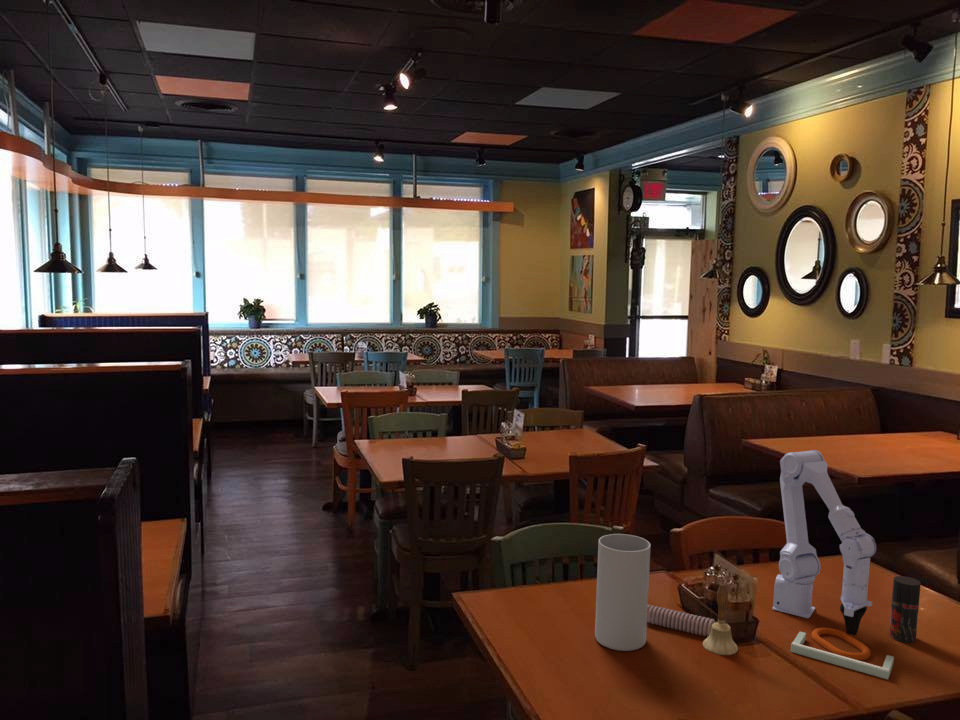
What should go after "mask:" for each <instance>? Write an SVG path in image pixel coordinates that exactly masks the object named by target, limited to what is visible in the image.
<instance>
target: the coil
mask: <svg viewBox="0 0 960 720" xmlns="http://www.w3.org/2000/svg"><path fill="white" fill-rule="evenodd" d="M713 623H716V621H715V619H714V618H710V617H705V616H701V615H699V616H698V615H697V614H695V615H694V614H692V613H691V614H690V613H687V612H682V611H679V610H674V609H670V608H666V607H663V606H662V607H661V606H660V607H659V606H658V605H657V606H655V605H652V604H648V611H647V624H652V625H656V626H658V625H659V626H660V627H664V628H667V629H671V630H673V629H674V630H676V631H680V632H681V631H683V632H684V633H685V632H686V633H691V634H695V636H696V635H699V636H703V637H706V638H708V636H709V635H710V632H711V627H712V624H713Z"/></svg>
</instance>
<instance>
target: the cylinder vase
mask: <svg viewBox="0 0 960 720" xmlns="http://www.w3.org/2000/svg"><path fill="white" fill-rule="evenodd" d="M597 545H598V546H597V549H598V550H597V571H596V572H597V573H596V596H595V597H596V598H595V600H596V601H595V621H594V623H595V625H594V637H595V639H596V641H597V642H598V643H599V644H600V645H602V646H603V647H606V648H607V649H611V650H614V651H619V652H620V651H621V652H632V651H635V650H639V649H640V648H643V646H644V645H646V642H647V631H648V630H647V629H648V621H647V617H648V613H647V611H648V612H649V610H648V605H649V604H648V603H649V588H650V587H649V583H650V563H651V546H652V545H651V543H650V542H649V541H648V540H647V539H645V538H644V537H640V536H637V535H632V534H628V533H627V534H623V533H611V534H606V535H602V536H601V537H600V538H598V544H597Z"/></svg>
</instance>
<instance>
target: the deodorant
mask: <svg viewBox="0 0 960 720" xmlns="http://www.w3.org/2000/svg"><path fill="white" fill-rule="evenodd" d="M921 583H922V582H921V581H920V580H919V579H916V578H914V577H910V576H906V575H905V576H904V575H897V576H894V577H893V584H892V594H891V608H890V609H891V610H890V620H889V621H890V622H889V630H888V631H889V633H888V635H889V637H890V638H892V639H893V640H895V641H896V642H901V643H903V644H904V643H906V644H912V643H915V642H916V641H917V629H918V628H917V627H918V620H919V619H918V618H919V605H920V596H921Z"/></svg>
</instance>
